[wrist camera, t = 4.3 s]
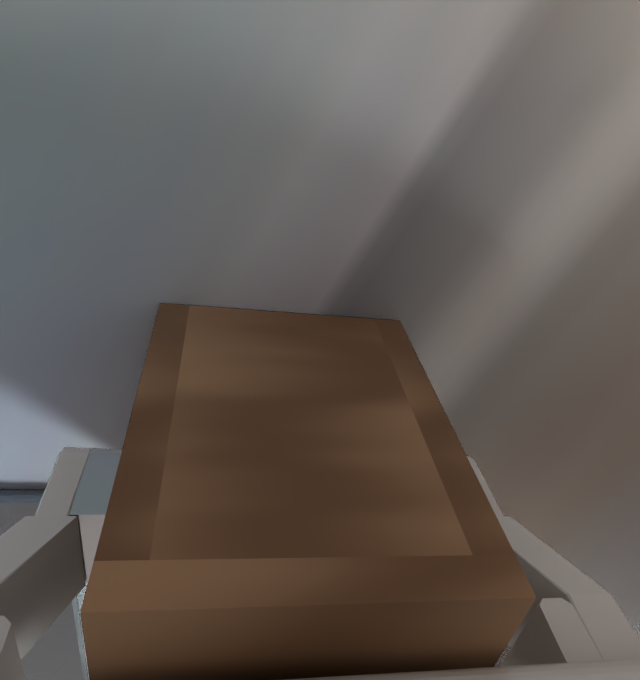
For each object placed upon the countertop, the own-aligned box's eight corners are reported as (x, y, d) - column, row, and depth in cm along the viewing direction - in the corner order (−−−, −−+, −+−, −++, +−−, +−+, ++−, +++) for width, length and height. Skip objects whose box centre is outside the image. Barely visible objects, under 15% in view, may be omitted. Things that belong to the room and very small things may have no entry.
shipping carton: (399, 320, 12) (536, 597, 6) (355, 482, 15) (425, 775, 9) (159, 303, 11) (81, 612, 5) (160, 479, 14) (107, 805, 8)
